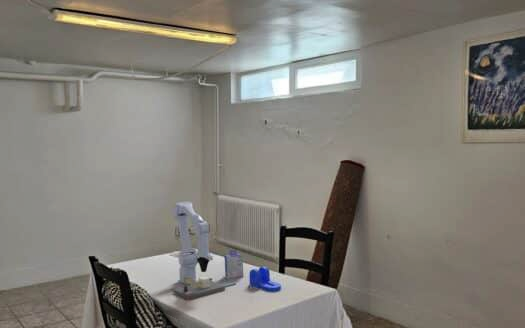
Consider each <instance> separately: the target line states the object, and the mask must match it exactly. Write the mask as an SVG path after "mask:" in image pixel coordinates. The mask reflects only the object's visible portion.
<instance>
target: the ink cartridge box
mask: <svg viewBox="0 0 525 328" xmlns="http://www.w3.org/2000/svg"><path fill="white" fill-rule="evenodd" d="M223 259H224V274H225V275H224V276H226V277H227V278H226V279H233V278H239V277H244V255H243V254H242V253H237V251H236V250H235V249H233V250H229V254H227V255H224V258H223Z"/></svg>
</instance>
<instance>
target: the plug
mask: <svg viewBox="0 0 525 328" xmlns="http://www.w3.org/2000/svg"><path fill="white" fill-rule="evenodd" d="M198 280H199V282H200V283H203V287H202V289H204V288H208V287H211V285H210V281H212V280H213V278H212V277H211V278H210V277H208V276H201V277H198Z"/></svg>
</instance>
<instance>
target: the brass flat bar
mask: <svg viewBox="0 0 525 328" xmlns="http://www.w3.org/2000/svg"><path fill="white" fill-rule="evenodd" d="M188 283H189V284H188ZM189 285H194V286H197V287H200V288H202V287H203V283H200V282H197V281H194V280H191V279H188V278H184V283H183V287H184V291H188V286H189Z"/></svg>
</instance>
